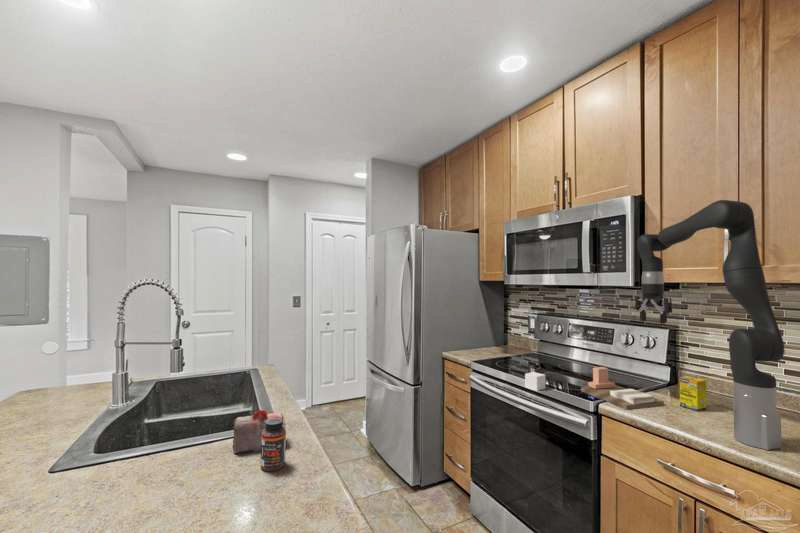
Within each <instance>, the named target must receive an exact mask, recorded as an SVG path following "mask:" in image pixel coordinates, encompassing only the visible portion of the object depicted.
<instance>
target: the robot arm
mask: <svg viewBox="0 0 800 533" xmlns="http://www.w3.org/2000/svg"><path fill="white" fill-rule="evenodd" d="M754 214H755V213H754V210H753V208H752V207H751V206H750V205H749V204H748V202H747V203H746V202H743V201H737V200H729V199H727V200H726V199H720V200H716V201H713V202H711V203H710V204H708V205H706V206H705V207H703V208H702V209H701V210H699V211H697V212H695V213H694V214H692V215H690V216H689V217H687V218H685V219H684V220H682V221H681V220H680V222H677V223H675V224H672V225H670V226H667V227H665V228H663V229H661V230H660V231H659V232H658V233H656V234H651V233H649V234H647V233H644V234H642V235H640V236H639V237H638V239H637V242H636V245H637V246H636V247H637V250H638V253H639V256H640V259H641V264H642V265H641V266H642V267H641V268H642V269H641V270H642V274H641V294H642V295H636V296H635V298H634V300H635V301H634V304H635V305H634V309H635V311H638V312H639V319H640V321H641V322H646V321H647V312H646V311H647V310H648V309H649V308H653V309H654V308H655V309H656V310H658V312H659V323H660V324H663V325H665V324H666V323H667V322H668V314H672V313H673V307H672V306H673V305H672V304H673V303H672V298H671V297H664V294H665V278H664V277H665V275H664V263H663V262H664V260H663V259H662V258H661V257H658V256H656V255H655V253H654V252H662V251H665V250H667V249H669V248H670V247H672V246H674V245H676V244H678V243H682V242H684V241H687V240H689V239H690V238H692V237H693V236H694V235H695V234H696V233H697V232H699V231H701V230H705V229H712V228H717V229H723V230H727V231H728V235H729V239H730V240H729V241H730V249H729V251H728V253H727V255H726V256H725V260H724V262H723V265H722V276H723V281H724V285H725V288H726V291H728V293H729V294H730V295H731V297H733V299H735V301H736V302H737V303H739V304H740V305H741V307H742V308H743V309H744V310H745V311H746V312H747V314H748V315H749V317H750V319H751V321H752V322H751V323H752V324H753V327H754V328H750V329H748V328H737V329H733V331H731V333H730V335H729V339H728V349H729V362H730V363H729V364H730V370H731V373H732V381H733V382H732V384H733V385H732V386H733V388H732V392H733V394H732V397H733V398H732V399H733V400H732V401H733V404H732V405H733V438H734V440H736V441H737V442H740V443H741V444H745V445H746V446H750V447H754V448H759V449H763V450H765V451H772V450H776V449H782V414H780V413H778V410H777V408H778V406H777V398H778V397H777V378H776V377H775V376H773V375H772V374H769V373H766V372H763V371H761V370H759V369H758V368H757V366H756V362H774V363H775V362H779V361H781V360H782V358H784V355H785V344H784V339H783V336H782V332H781V330H780V327H779V324H778V322H777V320H776V317H775V315H774V312H773V308H772V304H771V301H770V300H771V299H770V296H769V294H768V289H767V283H766V278H765V273H764V270H763V269H764V268H763V266H762V263H761V258H760V253H759V247H758V243H757V237H756V226H755V225H756V224H755V222H756V221H755V215H754Z"/></svg>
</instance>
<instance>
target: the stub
mask: <svg viewBox="0 0 800 533" xmlns="http://www.w3.org/2000/svg"><path fill="white" fill-rule="evenodd" d="M587 383H588V384H587V387H592V388H595V389H600V388H610V387H615V385H616V383H615V382H613V381H611V380H609V368H607V367H604V366H597V367H596V366H595V367H593V368H592V381H588V382H587Z"/></svg>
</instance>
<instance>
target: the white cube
mask: <svg viewBox="0 0 800 533" xmlns="http://www.w3.org/2000/svg"><path fill="white" fill-rule="evenodd" d="M524 388H527V389H529V390H533V391H536V392H538V391H541V390H545V389H546V374H544V373H539V372H536V371H531V372H528V373H524Z"/></svg>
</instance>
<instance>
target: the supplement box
mask: <svg viewBox="0 0 800 533" xmlns="http://www.w3.org/2000/svg"><path fill="white" fill-rule="evenodd" d="M679 407H681V408H686V409H689V410H691V411H694V412H697V411H698V412H701V411H705V410H707V380H706V379H702V378H698V377H695V376H691V375H686V376H681V377H679Z"/></svg>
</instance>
